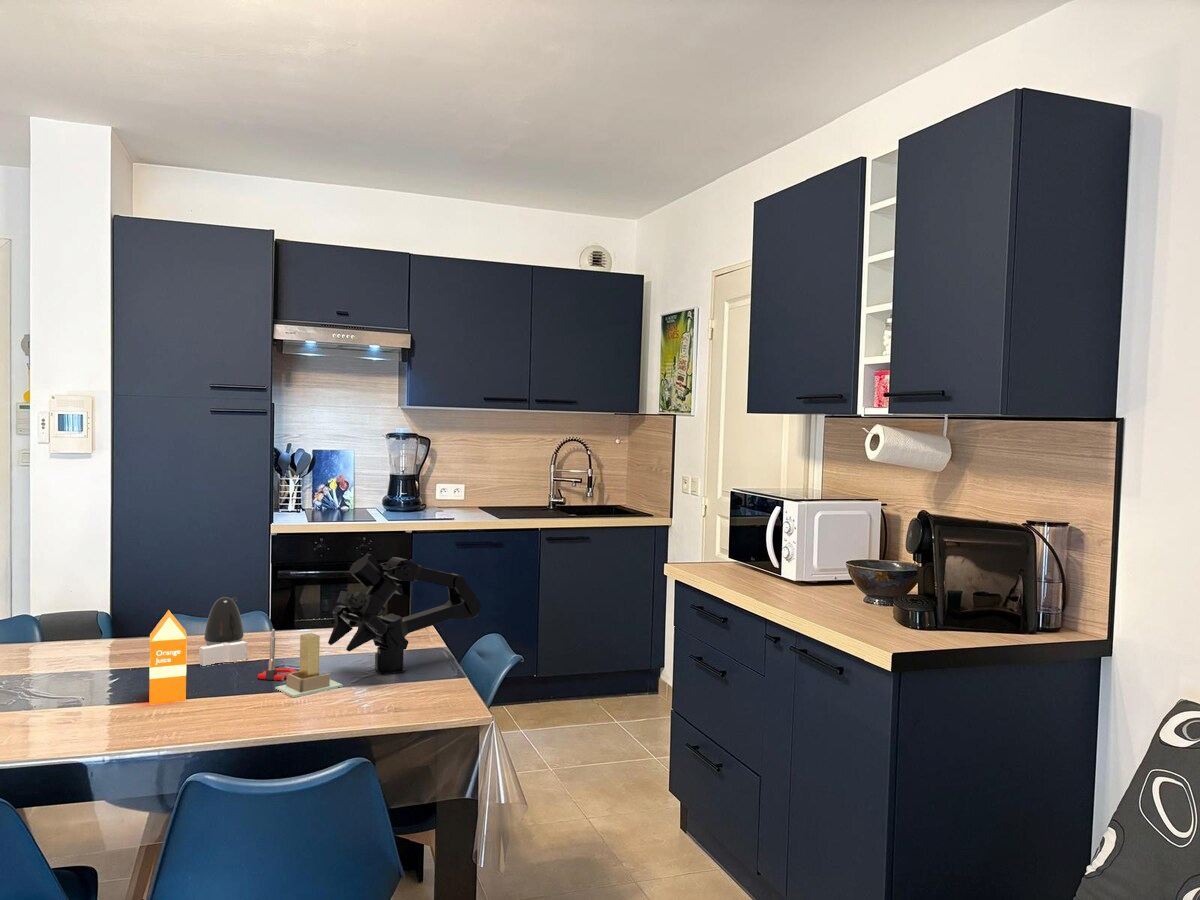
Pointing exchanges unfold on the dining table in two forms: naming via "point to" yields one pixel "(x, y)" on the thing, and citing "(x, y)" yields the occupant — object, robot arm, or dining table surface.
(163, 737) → the dining table surface
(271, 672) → the tow hook
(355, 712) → the dining table surface
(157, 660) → the orange juice
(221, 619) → the black rounded cone
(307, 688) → the pale green slotted base
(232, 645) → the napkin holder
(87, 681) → the dining table surface
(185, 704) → the dining table surface
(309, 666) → the gold square pillar
